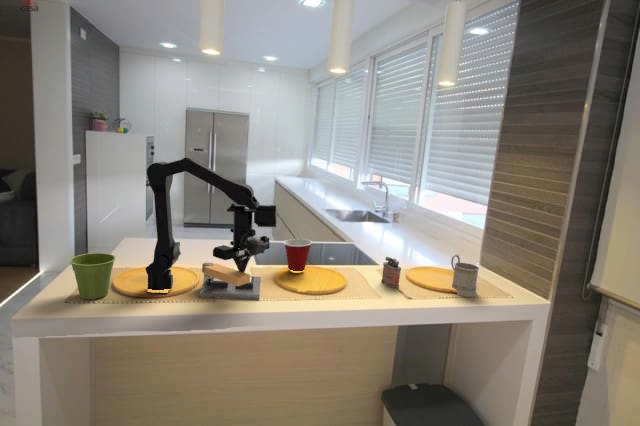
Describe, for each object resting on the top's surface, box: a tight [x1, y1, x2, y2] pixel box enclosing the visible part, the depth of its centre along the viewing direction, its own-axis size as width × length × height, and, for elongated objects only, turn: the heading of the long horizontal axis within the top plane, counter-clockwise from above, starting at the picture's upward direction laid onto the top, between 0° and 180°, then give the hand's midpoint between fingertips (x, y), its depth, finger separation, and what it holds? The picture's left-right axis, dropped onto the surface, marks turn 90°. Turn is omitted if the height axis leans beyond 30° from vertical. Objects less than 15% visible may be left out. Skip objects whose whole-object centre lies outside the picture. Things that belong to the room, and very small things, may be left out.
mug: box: [450, 253, 480, 298], centre depth 153 cm, size 14×10×12 cm
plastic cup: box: [283, 238, 313, 271], centre depth 158 cm, size 11×11×12 cm
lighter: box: [380, 256, 402, 289], centre depth 152 cm, size 8×3×10 cm, turn 34°
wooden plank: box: [201, 262, 251, 286], centre depth 131 cm, size 18×5×2 cm, turn 56°
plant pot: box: [68, 252, 117, 301], centre depth 121 cm, size 12×12×11 cm
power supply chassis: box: [199, 273, 262, 300], centre depth 136 cm, size 18×17×5 cm
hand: (241, 274), depth 131 cm, fingers closed
